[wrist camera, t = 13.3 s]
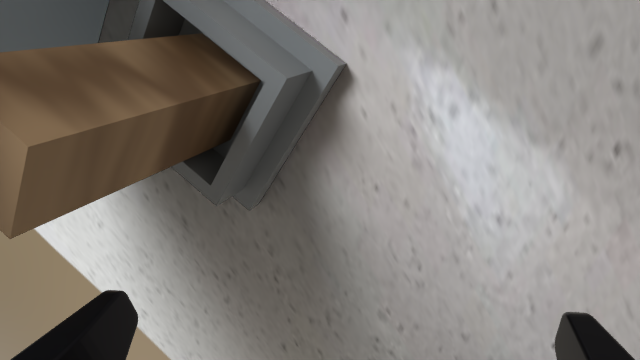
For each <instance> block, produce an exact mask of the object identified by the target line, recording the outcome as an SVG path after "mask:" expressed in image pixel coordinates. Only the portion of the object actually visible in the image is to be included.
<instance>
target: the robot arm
mask: <svg viewBox="0 0 640 360" xmlns="http://www.w3.org/2000/svg"><path fill="white" fill-rule="evenodd" d="M137 324H138V314H137V312H136V310H135V308H134V306H133V305H132V303H131V301H130V299H129V297H128V295H127V294H126V293H125V292H124V291H116V290H107V291H104V292H103V293H101V294H100V295H99V296H97V297H96V298H94V299H93V300H91V301H90V302H89V303H87V304H86V305H85V306H83V307H82V308H81V309H79V310H78V311H76V312H75V313H74V314H72V315H71V316H70V317H68V318H67V319H66V320H64V321H63V322H61V323H60V324H59V325H58V326H56V327H55V328H53V329H52V330H50V331H49V332H48V333H46V334H45V335H44V336H42V337H41V338H40V339H38V340H37V341H35V342H34V343H33V344H31V345H30V346H28V347H27V348H26V349H24V350H23V351H22V352H20V353H19V354H18V355H16V356H15V357H13V358H12V359H11V360H126V357H127V354H128V351H129V348H130V345H131V342H132V339H133V336H134V333H135V330H136V327H137ZM555 352H556V357H557V360H635V359H634V358H633V357H632V356H631V355H630V354H629V353H628V352H627V351H626V350H625V349H624V348H623V347H622V346H621V345H620V344H619V343H618V342H617V341H616V340H615V339H614V338H613V337H612V336H611V335H610V334H609V333H608V332H607V331H606V330H605V329H604V328H603V327H602V326H601V325H600V324H599V323H598V321H597V320H596V319H595V318H594V317H592V316H591V315H590V314H587V313H579V312H566V313H564V314H563V316H562V318H561V321H560V325H559V328H558V331H557V335H556V338H555Z"/></svg>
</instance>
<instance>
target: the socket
mask: <svg viewBox="0 0 640 360" xmlns="http://www.w3.org/2000/svg"><path fill="white" fill-rule="evenodd" d="M200 33H203V34H204V35H205V36H206V37H208V38H209V39H210V40H211V41H213V42H214V43H215V44H216V45H218V46H219V47H220V48H221V49H223V50H224V51H225V52H226V53H228V54H229V55H230V56H231V57H232V58H234V59H235V60H236V61H237V62H239V63H240V64H241V65H242V66H244V67H245V68H246V69H247V70H249V71H250V72H251V73H252V74H254V75H255V76H256V77H257V78H259V79H260V80H261V82H260V83H259V85H258V87H257V89H256V91H255V93H254V95H253V97H252V99H251V101H250V103H249V105H248V107H247V109H246V111H245V112H244V114H243V116H242V118H241V120H240V122H239V124H238V126H237V128H236V130H235V132H234V134H233V136H232V138H231V139H230V140H229V141H227V142H225V143H222V144H220V145H218V146H216V147H213V148H211V149H209V150H207V151H205V152H202V153H200V154H198V155H196V156H193V157H191V158H189V159H187V160H185V161H182V162H180V163H178V164H176V165H174V166H171V167H172V168H173V169H174V170H175V171H176V172H178V173H179V174H180V175H181V176H182V177H183V178H184V179H186V180H187V181H188V182H189V183H190V184H191V185H193V186H194V187H195V188H196V189H197V190H198V191H199V192H201V193H202V194H203V195H204V196H205V197H206V198H208V199H209V200H210V201H211V202H212V203H213V204H215V205H216V206H218V205H219V204H221V203H222V202H224V201H225V200H227V199H229V198H230V197H232V196H233V197H234V198H235V199H236V200H237V201H238V202H240V203H241V204H242V205H243V206H244V207H245V208H247V209H248V210H249V211H250V210H251V209H252V208H254V207H255V206H256V205H258V204H259V202H260V201H261V199H262V198H263V196H264V194H265V193H266V191H267V190H268V188H269V186H270V185H271V183H272V182H273V180H274V178H275V177H276V175H277V174H278V172H279V170H280V169H281V167H282V166H283V164H284V162H285V161H286V159H287V158H288V156H289V154H290V153H291V151H292V150H293V148H294V146H295V145H296V143H297V142H298V140H299V138H300V137H301V135H302V134H303V132H304V130H305V129H306V127H307V126H308V124H309V122H310V121H311V119H312V118H313V116H314V114H315V113H316V111H317V110H318V108H319V106H320V105H321V103H322V102H323V100H324V98H325V97H326V95H327V94H328V92H329V90H330V89H331V87H332V86H333V84H334V82H335V81H336V79H337V78H338V76H339V74H340V73H341V71H342V70H343V68H344V66H345V65H346V63H345V62H344V61H343V60H341V59H340V58H339V57H337V56H336V55H335V54H334V53H332V52H331V51H330V50H328V49H327V48H326V47H324V46H323V45H322V44H321V43H319V42H318V41H317V40H315V39H314V38H313V37H312V36H310V35H309V34H308V33H306V32H305V31H304V30H302V29H301V28H300V27H299V26H297V25H296V24H295V23H293V22H292V21H291V20H290V19H288V18H287V17H286V16H284V15H283V14H282V13H281V12H279V11H278V10H277V9H275V8H274V7H273V6H271V5H270V4H269V3H268V2H266V1H265V0H140V1H139V4H138V7H137V11H136V14H135V17H134V20H133V24H132V27H131V30H130V34H129V37H128V40H136V39H147V38H158V37H168V36H179V35H190V34H200Z"/></svg>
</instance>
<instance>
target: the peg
mask: <svg viewBox="0 0 640 360" xmlns="http://www.w3.org/2000/svg"><path fill="white" fill-rule="evenodd" d="M260 82H261V80H260V79H259V78H257V77H256V76H255V75H254V74H252V73H251V72H250V71H249V70H247V69H246V68H245V67H244V66H242V65H241V64H240V63H239V62H237V61H236V60H235V59H234V58H232V57H231V56H230V55H229V54H228V53H226V52H225V51H224V50H223V49H221V48H220V47H219V46H218V45H216V44H215V43H214V42H213V41H211V40H210V39H209V38H208V37H206V36H205V35H204V34H203V33H200V34H190V35H179V36H168V37H158V38H147V39H136V40H126V41H115V42H105V43H94V44H83V45H73V46H62V47H51V48H41V49H30V50H20V51H9V52H0V230H1V231H2V232H3V233H4V234H5V235H6V236H7V237H8V238H9V239H11V238H14V237H16V236H18V235H20V234H23V233H25V232H27V231H29V230H31V229H34V228H36V227H38V226H40V225H43V224H45V223H47V222H49V221H51V220H54V219H56V218H58V217H60V216H62V215H65V214H67V213H69V212H71V211H74V210H76V209H78V208H80V207H82V206H85V205H87V204H89V203H91V202H94V201H96V200H98V199H100V198H102V197H105V196H107V195H109V194H111V193H114V192H116V191H118V190H120V189H122V188H125V187H127V186H129V185H131V184H134V183H136V182H138V181H140V180H142V179H145V178H147V177H149V176H151V175H154V174H156V173H158V172H160V171H162V170H165V169H167V168H169V167H171V166H174V165H176V164H178V163H180V162H182V161H185V160H187V159H189V158H191V157H193V156H196V155H198V154H200V153H202V152H205V151H207V150H209V149H211V148H213V147H216V146H218V145H220V144H222V143H225V142H227V141H229V140H230V139H231V138H232V136H233V134H234V132H235V130H236V128H237V126H238V124H239V122H240V120H241V118H242V116H243V114H244V112H245V111H246V109H247V107H248V105H249V103H250V101H251V99H252V97H253V95H254V93H255V91H256V89H257V87H258V85H259V83H260Z"/></svg>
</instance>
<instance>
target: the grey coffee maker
mask: <svg viewBox="0 0 640 360" xmlns="http://www.w3.org/2000/svg"><path fill="white" fill-rule="evenodd" d="M108 3H109V0H0V52H9V51H20V50H30V49H41V48H51V47H62V46H73V45H83V44H94V43H98V41H99V37H100V33H101V30H102V26H103V22H104V18H105V14H106V11H107V7H108Z"/></svg>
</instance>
